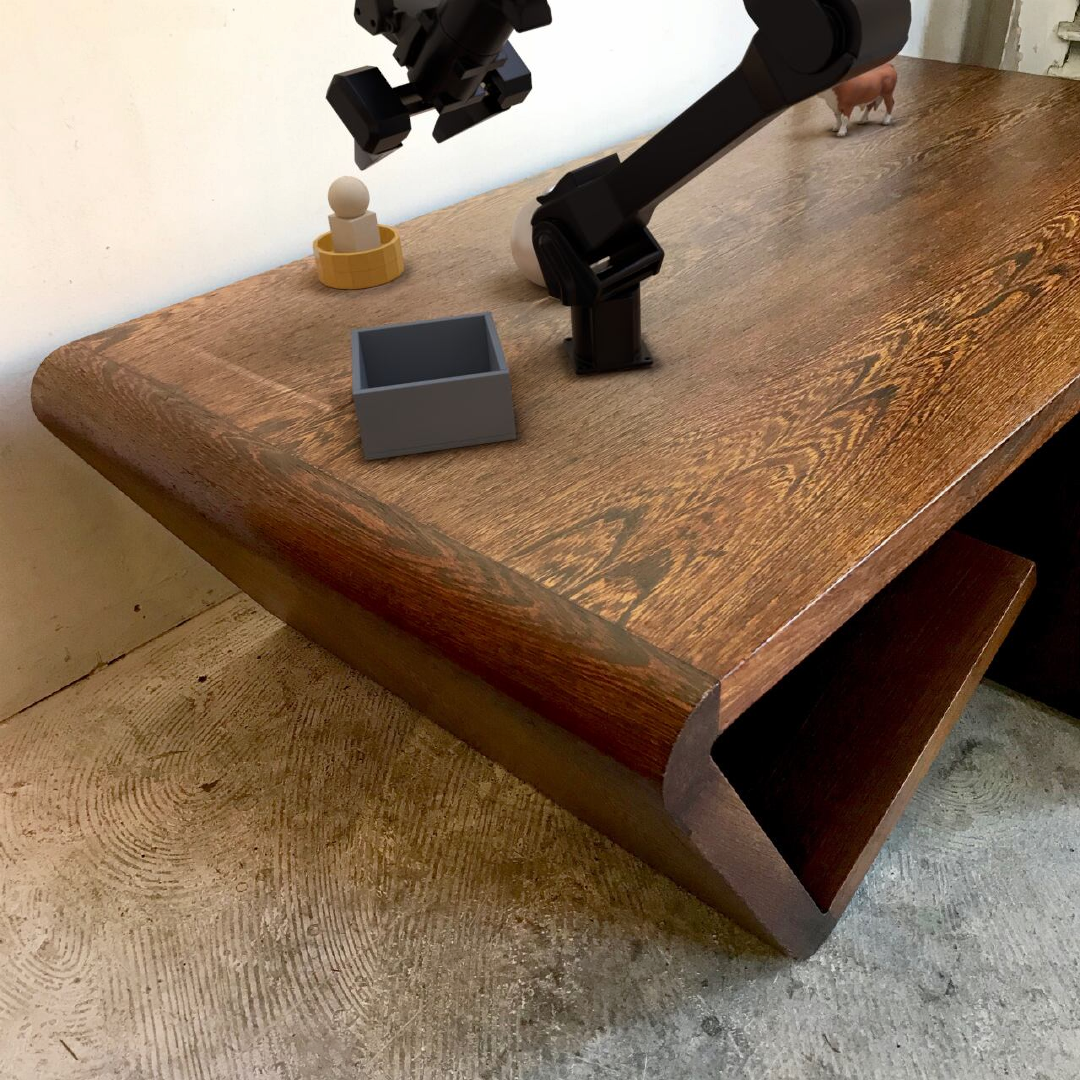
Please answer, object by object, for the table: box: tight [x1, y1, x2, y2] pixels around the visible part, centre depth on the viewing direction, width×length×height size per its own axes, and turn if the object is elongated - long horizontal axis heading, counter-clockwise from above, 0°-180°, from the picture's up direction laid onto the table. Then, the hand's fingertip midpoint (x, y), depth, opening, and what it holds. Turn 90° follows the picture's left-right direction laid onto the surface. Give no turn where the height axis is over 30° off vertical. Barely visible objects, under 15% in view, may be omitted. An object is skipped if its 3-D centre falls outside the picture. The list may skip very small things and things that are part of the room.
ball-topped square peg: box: [327, 175, 381, 253], centre depth 104 cm, size 4×4×10 cm
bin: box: [350, 311, 517, 461], centre depth 81 cm, size 11×11×6 cm
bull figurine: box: [816, 62, 898, 138], centre depth 134 cm, size 4×13×8 cm, turn 115°
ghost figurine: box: [509, 182, 600, 289], centre depth 98 cm, size 9×10×10 cm
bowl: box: [312, 223, 406, 290], centre depth 106 cm, size 9×9×4 cm
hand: (398, 152), depth 94 cm, fingers open, 9 cm apart
